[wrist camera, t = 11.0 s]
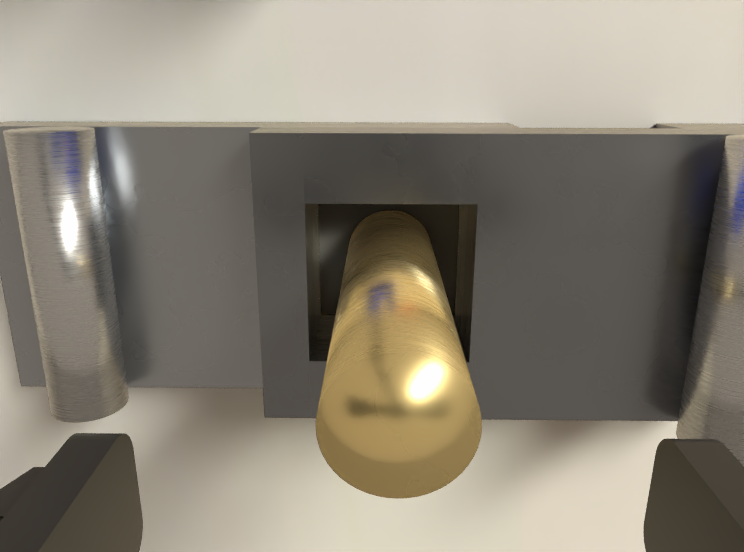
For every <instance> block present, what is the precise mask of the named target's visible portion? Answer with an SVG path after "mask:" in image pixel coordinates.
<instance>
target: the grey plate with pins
mask: <svg viewBox="0 0 744 552" xmlns="http://www.w3.org/2000/svg"><path fill="white" fill-rule="evenodd" d="M318 204H460V214H459V236H458V258H457V281H456V303H455V316H453V319H454V323H455V326H456V330H457V333H458V336H459V340H460V343H461V347H462V350H463V353H464V357H465V360H466V364H467V367H468V370H469V374H470V377H471V381H472V384H473V387H474V391H475V394H476V398H477V401H478V404H479V408H480V412H481V419H511V420H630V421H678V424H677V430H676V435H677V438H678V439H716V440H719V441H720V442H722V443H723V444H724V445H725V446H726V447H727V448H728V449H729V451H730V452H731V453H732V454H733V455H734V456H735V457H736V458H737V459H738V460H739V461H740V462H741V464H742V465H744V124H656V128H519V127H517V126H514V125H511V124H509V123H305V122H2V123H0V274H1V280H2V285H3V290H4V296H5V301H6V307H7V312H8V318H9V323H10V328H11V334H12V339H13V345H14V350H15V356H16V361H17V366H18V372H19V377H20V383H21V386H47V392H48V398H49V404H50V409H51V414H52V416H53V417H54V418H56V419H58V420H61V421H65V422H86V421H92V420H97V419H100V418H103V417H106V416H109V415H111V414H113V413H115V412H117V411H119V410H120V409H121V408H123V407H124V406H125V405H126V403H127V402H128V399H129V396H128V388H127V387H187V388H263V396H264V414H265V417H272V418H316V416H317V411H318V406H319V400H320V395H321V390H322V385H323V379H324V374H325V369H326V363H327V358H328V353H329V348H330V342H331V337H332V332H333V326H334V321H335V316H336V315H321V304H320V262H319V220H318Z"/></svg>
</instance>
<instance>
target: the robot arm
mask: <svg viewBox="0 0 744 552" xmlns="http://www.w3.org/2000/svg"><path fill="white" fill-rule="evenodd" d="M142 529H143V520H142V511H141V503H140V496H139V488H138V481H137V473H136V466H135V458H134V451H133V445H132V441H131V439H130V437H129V436H128V435H127V434H96V433H76V434H74V435H72V436H71V437H70V438H69V439H68V440H67V441H66V442H65V444H64V445H63V446H62V447H61V448H60V450H59V451H58V452H57V453H56V454H55V456H54V457H53V458H52V459H51V461H50V462H49V463H48V464H47V465H46V467H33V468H32V469H30V470H29V471H27V472H26V473H24V474H23V475H21V476H20V477H18V478H17V479H15V480H14V481H12V482H11V483H9V484H8V485H6V486H5V487H3V488H1V489H0V552H139V550H140V545H141V539H142ZM644 543H645V549H646V552H744V466H743V465H742V464H741V462H740V461H739V460H738V459H737V458H736V457H735V456H734V455H733V454H732V453H731V452H730V451H729V449H728V448H727V447H726V446H725V445H724V444H723V443H722V442H720V441H719V440H716V439H664V440H662V441H661V442H660V443H659V445H658V447H657V450H656V455H655V461H654V467H653V473H652V479H651V485H650V491H649V496H648V502H647V508H646V514H645V520H644Z"/></svg>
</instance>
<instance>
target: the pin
mask: <svg viewBox="0 0 744 552" xmlns="http://www.w3.org/2000/svg"><path fill="white" fill-rule="evenodd" d="M481 431H482V419H481V412H480V408H479V404H478V401H477V398H476V394H475V391H474V387H473V384H472V381H471V377H470V374H469V370H468V367H467V364H466V360H465V357H464V353H463V350H462V347H461V343H460V340H459V336H458V333H457V330H456V326H455V323H454V319H453V316H452V312H451V309H450V306H449V302H448V299H447V295H446V292H445V289H444V285H443V282H442V278H441V275H440V272H439V268H438V265H437V261H436V258H435V255H434V251H433V248H432V244H431V241H430V238H429V235H428V233H427V231H426V229H425V228H424V226H423V225H422V224H421V223H420V222H419V221H418V220H417V219H415V218H414V217H412V216H411V215H409V214H407V213H404V212H401V211H395V210H385V211H380V212H377V213H374V214H372V215H370V216H368V217H366V218H365V219H364V220H362V221H361V222H360V223H359V224H358V226H357V227H356V228H355V230H354V231H353V233H352V235H351V238H350V242H349V247H348V252H347V258H346V263H345V268H344V273H343V279H342V284H341V289H340V295H339V300H338V305H337V311H336V316H335V321H334V326H333V332H332V337H331V342H330V348H329V353H328V358H327V363H326V369H325V374H324V379H323V385H322V390H321V395H320V400H319V406H318V411H317V416H316V435H317V440H318V444H319V447H320V450H321V452H322V454H323V456H324V458H325V460H326V461H327V463H328V464H329V466H330V467H331V468H332V469H333V471H334V472H335V473H336V474H337V475H338V476H339V477H340V478H342V479H343V480H344V481H346V482H347V483H348V484H350V485H352V486H353V487H355V488H357V489H359V490H361V491H364V492H366V493H369V494H372V495H376V496H380V497H386V498H411V497H417V496H421V495H425V494H428V493H431V492H433V491H436V490H438V489H440V488H442V487H444V486H446V485H447V484H449V483H450V482H451V481H453V480H454V479H455V478H457V477H458V476H459V475H460V474H461V473H462V472H463V471H464V470H465V468H466V467H467V466H468V465H469V463H470V462H471V460H472V459H473V457H474V455H475V453H476V451H477V448H478V445H479V442H480V438H481Z"/></svg>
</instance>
